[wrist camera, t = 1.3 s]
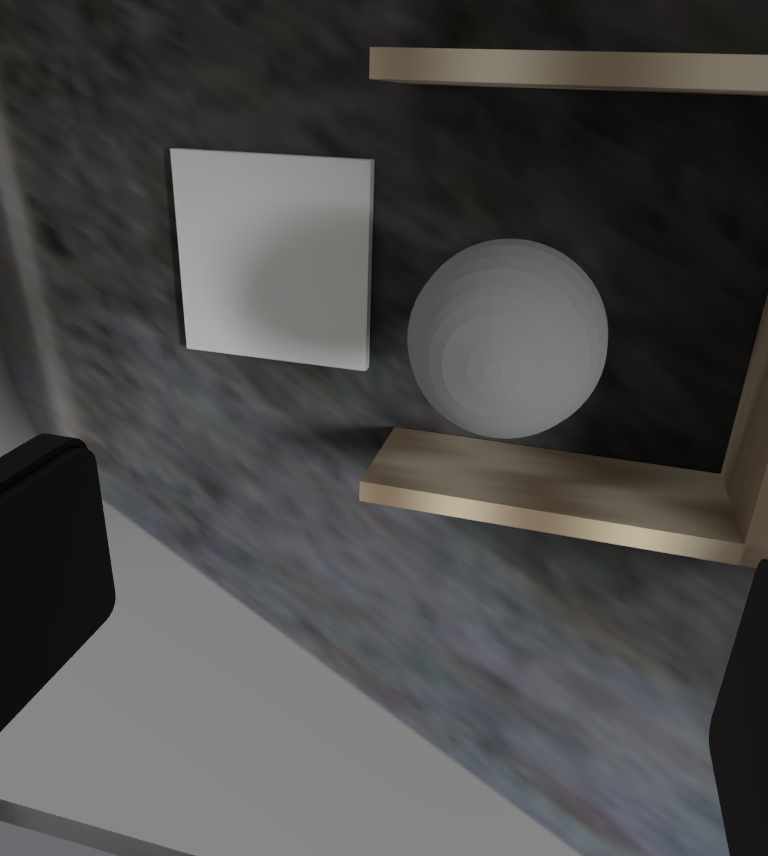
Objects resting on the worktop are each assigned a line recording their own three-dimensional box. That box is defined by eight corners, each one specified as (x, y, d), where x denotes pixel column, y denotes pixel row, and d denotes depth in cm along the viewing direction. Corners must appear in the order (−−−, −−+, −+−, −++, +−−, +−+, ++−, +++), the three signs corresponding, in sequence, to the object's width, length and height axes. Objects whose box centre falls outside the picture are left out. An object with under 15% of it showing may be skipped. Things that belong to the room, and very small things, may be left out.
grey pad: (374, 159, 26) (370, 160, 26) (368, 367, 29) (365, 371, 29) (176, 148, 28) (169, 148, 27) (192, 345, 31) (186, 348, 31)
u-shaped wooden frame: (856, 68, 21) (923, 58, 17) (738, 495, 27) (765, 569, 23) (411, 58, 24) (370, 46, 20) (393, 443, 30) (359, 500, 26)
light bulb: (434, 238, 27) (353, 302, 18) (581, 183, 25) (571, 226, 16) (482, 371, 28) (428, 491, 19) (623, 331, 26) (636, 444, 17)
